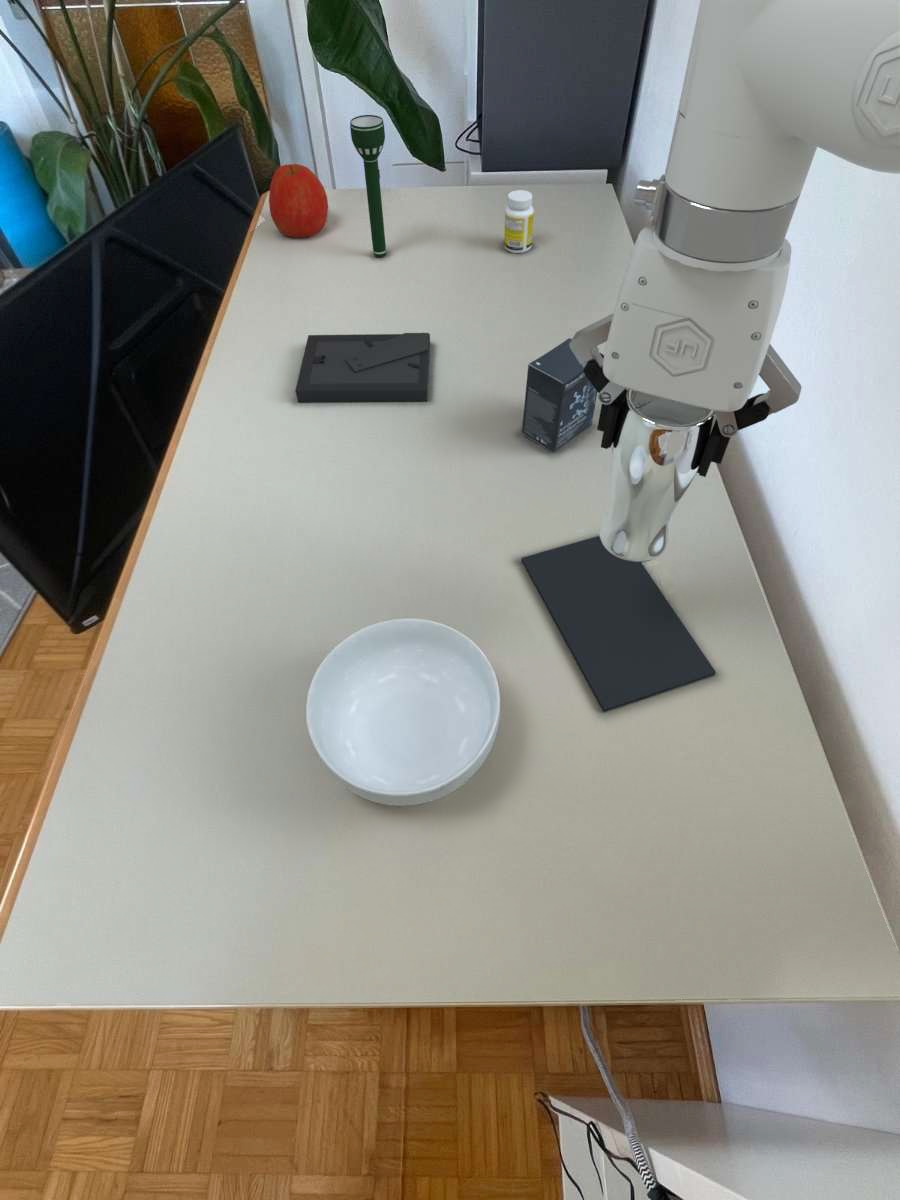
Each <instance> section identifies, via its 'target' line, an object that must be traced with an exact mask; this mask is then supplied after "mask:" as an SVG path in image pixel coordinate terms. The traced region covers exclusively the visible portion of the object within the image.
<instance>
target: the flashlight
mask: <svg viewBox="0 0 900 1200" xmlns="http://www.w3.org/2000/svg"><path fill="white" fill-rule="evenodd" d="M349 124H350V125H349V126H350V127H349V129H350V138H351V141H352V142H351V143H352V144H353V147H354V149H355V151H356V152H357V154H358V155H359V156H360V158H362V161H363V169H364V178H365V180H364V181H365V189H366V196H367V197H366V198H367V206H368V215H369V216H368V217H369V224H370V236H371V246H372V253H373V256H374V257H375V258H377V259H382V258H385V257H386V256H387V245H386V244H387V243H386V235H385V224H384V213H383V212H384V211H383V203H382V202H383V201H382V191H381V174H380V173H381V172H380V169H379V160H378V159H379V157H380V155H381V153H382V151H383V148H384V145H385V141H386V132H385V131H386V130H385V123H384V119H383V117H381V116H379V115H374V114H362V115H357V116H355V117H353V118H351V119H350V121H349Z"/></svg>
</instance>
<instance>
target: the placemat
mask: <svg viewBox="0 0 900 1200" xmlns="http://www.w3.org/2000/svg"><path fill="white" fill-rule="evenodd" d="M521 563H522V566H523V567H524V569H525V570H526V572H527V575H528V577H529V578H530V580H531V582H532V583H533V585H534V587H535V589H536V590H537V593H538V594H539V596H540V598H541V600H542V602H543V604H544V606H545V607H546V609H547V611H548V613H549V615H550V617H551V618H552V620H553V622H554V625H555V626H556V628H557V629H558V631H559V633H560V635H561V637H562V639H563V640H564V642H565V645H566V647H567V648H568V650H569V652H570V653H571V654H570V655H572V657H573V659H574V661H575V662H576V665H577V667H578V668H579V671H580V672H581V674H582V676H583V677H584V679H585V681H586V683H587V685H588V687H589V688H590V690H591V692H592V694H593V696H594V698H595V700H596V701H597V704H598V705H599V707H600V709H601V711H602V712H603V713H606V712H609V711H612V710H615V709H617V708H621V707H625V706H627V705H629V704H633V703H635V702H639V701H641V700H644V699H648V698H651V697H653V696H656V695H659V694H663V693H665V692H668V691H671V690H675V689H677V688H678V689H679V688H680V687H683V686H686V685H689V684H690V685H691V684H692V683H696V682H698V681H701V680H704V679H707V678H711V677H712V676H715V675H716V673H717V672H716V670H715V669H714V667H713V666H712V664H711V663H710V661H709V660H708V658H707V657H706V655H705V654H704V653H703V651H702V650H701V648H700V646H699V645H698V644H697V642H696V641H695V639H694V638H693V636H692V635H691V632H689V631H688V629H687V628H686V626H685V625H684V623H683V621H682V620H681V618H680V617H679V616H678V615H677V612H675V610H674V608H673V607H672V605H671V604H670V602H669V601H668V599H667V598H666V597H665V594H663V592H662V590H661V589H660V588H659V586H658V585H657V584H656V582H655V580H654V579H653V578H652V575H650V572H648V570H647V569H646V567H645V566H644V564H643V562H630V561H626V560H622V559H620V558H617V557H616V556H614V555H612V554H611V553H610V552H608V551H607V550H606V549H605V547H604V546H603V544H602V542H601V540H600V535H597V536H593V537H590V538H586V539H583V540H580V541H579V540H578V541H575V542H572V543H569V544H566V545H561V546H558V547H555V548H551V549H547V550H544V551H540V552H538V553H533V554H530V555H526V556H523V557H521Z"/></svg>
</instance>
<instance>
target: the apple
mask: <svg viewBox="0 0 900 1200" xmlns="http://www.w3.org/2000/svg"><path fill="white" fill-rule="evenodd" d="M268 193H269V194H268V207H269V213H270V217H271V219H272V221H273V223H274V225H275V227H276V228H277V230H278V231H279V232H280V233H281V234H283V235H285V236H286V237H291V238H309V237H311V236H315V235H316V234H318V233H320V232H321V231H322V230H323V229H324V227H325V226H326V223H327V220H328V213H329V202H328V201H329V200H328V195H327V192H326V189H325V187H324V185H323V184H322V182H321V180H320V179H319V178H318V176H317V175H316V174H315V173H314V172H313V171H312V170H311V169H309V167H308V166H306V165H305V166H304V165H302V164H297V163H291V164H290V163H289V164H284V165H281V166H279V167H278V168H277V169H276V170H275V171H274V174H273V176H272V179H271V182H270V185H269V192H268Z"/></svg>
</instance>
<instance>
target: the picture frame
mask: <svg viewBox="0 0 900 1200" xmlns="http://www.w3.org/2000/svg"><path fill="white" fill-rule="evenodd" d="M430 357H431V334H430V333H429V332H403V333H379V334H378V333H376V334H375V333H374V334H372V333H371V334H308V335H307V340H306V343H305V348H304V352H303V356H302V361H301V365H300V368H299V374H298V378H297V382H296V385H295V394H296V395H295V396H296V399H297V403H396V402H397V403H400V402H401V403H402V402H403V403H405V402H407V403H409V402H411V403H413V402H414V403H416V402H420V403H421V402H422V403H423V402H428V392H429V375H430V374H429V373H430Z"/></svg>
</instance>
